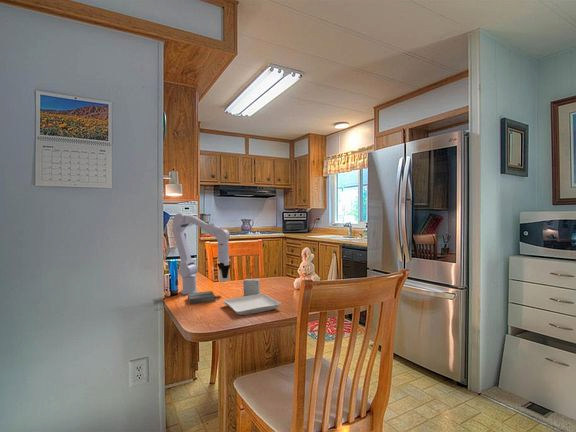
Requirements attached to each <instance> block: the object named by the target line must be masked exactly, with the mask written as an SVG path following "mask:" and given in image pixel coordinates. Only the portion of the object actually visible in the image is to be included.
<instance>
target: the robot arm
mask: <svg viewBox="0 0 576 432" xmlns="http://www.w3.org/2000/svg"><path fill="white" fill-rule="evenodd" d="M171 221H172V222H173V223H172V228H171V229H172V235H173V237H174V241H175V244H176V248H177V252H178V255H179V259H180V262H179V265H178V266H179V275H180V276H181V278H182V279H181V281H182V289H181V290H180V292H181V294H182V295H184V296H185V295H188V294H190V293H199V292H198V290H197V273H198V270H199V268H198V267H199V266H198V265H197V264H196V262H195V259H193V258H192V256H191V253H190V250H189V246H188V243H187V240H186V237H185V233H184V232H185V229H186V228H187V227H188V226H189V225H191V224H192V225H195V226H197V227H199V228H201V229H204V232H205V233H206V234H209V235H210V236H213V237H214V238H215V239H216V240H217V263H216V265H217V267H218V269H221V271H222V276H223V278H227V276H228V271H229V272H230V268H231V264H229V262H231V261H232V259H230V257H229V255H230V254H229V253H230V249H229V238H230V237H231V234H230V231H229V230H228V229H226V228H224V229H223V228H222V227H221V226H218V225H216V223H214V222H209V223H207V222H205V221H203V220H202V219H200V218H199V217H197V216H195V215H193V214H191V213H186V212H185V213H179V212H178V213H176V214H175V215H174V216H173V218H172V220H171Z"/></svg>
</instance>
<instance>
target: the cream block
mask: <svg viewBox="0 0 576 432" xmlns="http://www.w3.org/2000/svg"><path fill="white" fill-rule="evenodd" d="M217 271H218V281H219V282H220V283H223V282H230V280H231V279H230V276H231V275H230V270H229V271H228V276H227V278H223V276H222V271H221V269H219V268H218V270H217Z"/></svg>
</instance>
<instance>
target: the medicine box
mask: <svg viewBox="0 0 576 432" xmlns="http://www.w3.org/2000/svg"><path fill="white" fill-rule="evenodd" d="M260 281H261V280H260V278H245V279H244V280H243V282H242V283H243V285H242V286H243V297H244V296H250V295H257V294H261V286H260V285H261V282H260Z"/></svg>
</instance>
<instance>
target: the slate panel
mask: <svg viewBox="0 0 576 432" xmlns="http://www.w3.org/2000/svg"><path fill="white" fill-rule="evenodd" d="M187 299H188V302H189V304H190V305H198V304H205V303H206V304H207V303H213V302H216V301H217V300H216V295H215V294H214V292H213V291H212V290H210V291H200V292H198V293H190V294H187Z"/></svg>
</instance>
